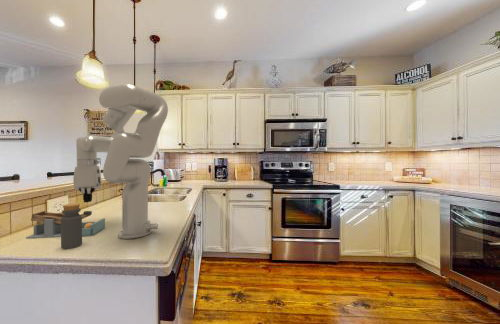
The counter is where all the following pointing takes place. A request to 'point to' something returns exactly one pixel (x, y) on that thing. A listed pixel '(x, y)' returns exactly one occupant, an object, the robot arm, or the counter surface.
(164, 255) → the counter surface
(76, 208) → the bottle
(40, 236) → the stand
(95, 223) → the tray
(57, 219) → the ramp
